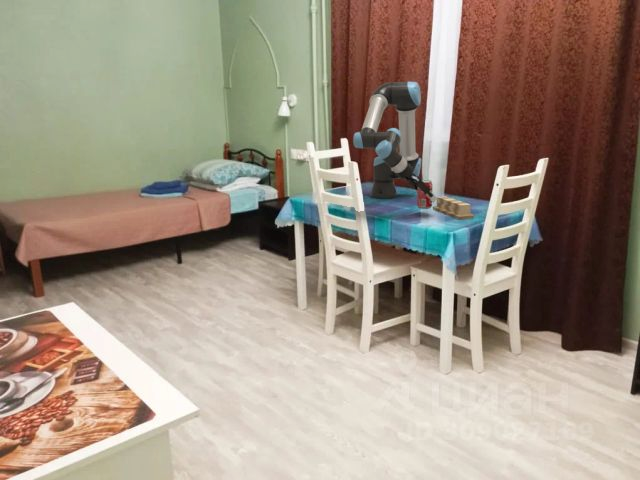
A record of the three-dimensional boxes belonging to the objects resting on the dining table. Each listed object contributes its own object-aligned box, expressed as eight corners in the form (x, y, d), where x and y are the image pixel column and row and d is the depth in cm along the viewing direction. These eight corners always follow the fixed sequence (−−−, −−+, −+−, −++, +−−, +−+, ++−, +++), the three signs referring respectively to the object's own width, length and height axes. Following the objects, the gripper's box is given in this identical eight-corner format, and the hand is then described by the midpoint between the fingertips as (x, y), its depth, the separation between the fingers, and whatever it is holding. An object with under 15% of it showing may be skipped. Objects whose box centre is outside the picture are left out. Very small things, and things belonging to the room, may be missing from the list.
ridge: (432, 209, 262) (433, 196, 260) (446, 208, 264) (447, 195, 262) (459, 219, 240) (459, 206, 238) (473, 218, 242) (474, 204, 240)
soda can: (432, 209, 245) (433, 182, 242) (416, 209, 247) (417, 182, 243) (431, 206, 252) (432, 179, 248) (416, 205, 253) (417, 179, 249)
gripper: (387, 170, 249) (416, 200, 258) (406, 177, 231) (436, 209, 240) (397, 159, 249) (425, 189, 258) (417, 164, 231) (447, 196, 240)
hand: (431, 198), depth 249 cm, fingers closed on soda can, 7 cm apart
